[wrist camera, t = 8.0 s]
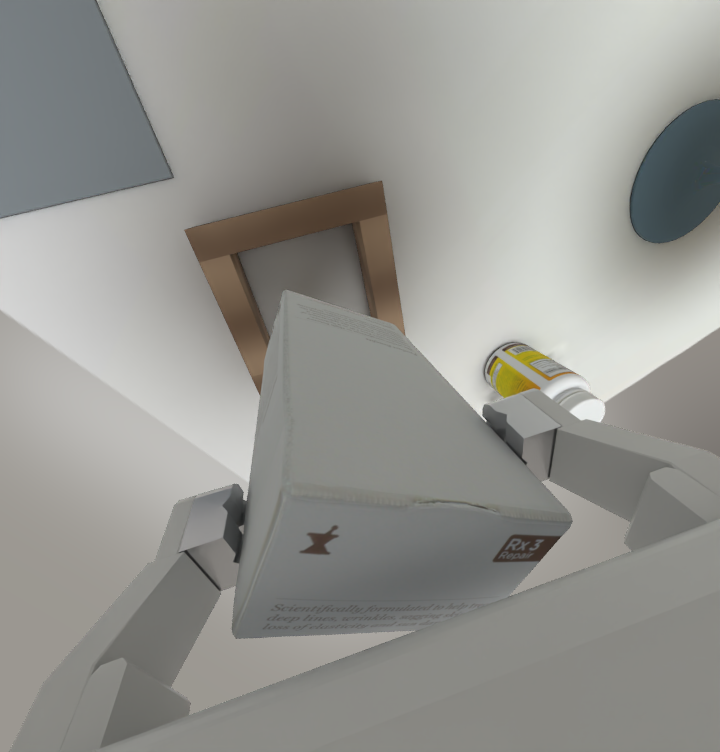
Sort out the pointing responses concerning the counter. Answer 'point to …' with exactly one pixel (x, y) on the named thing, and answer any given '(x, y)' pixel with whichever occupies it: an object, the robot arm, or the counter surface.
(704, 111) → the cocktail glass
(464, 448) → the skincare box
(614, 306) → the counter surface
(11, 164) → the slate mat
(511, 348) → the supplement bottle
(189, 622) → the robot arm
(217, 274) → the walnut collar
